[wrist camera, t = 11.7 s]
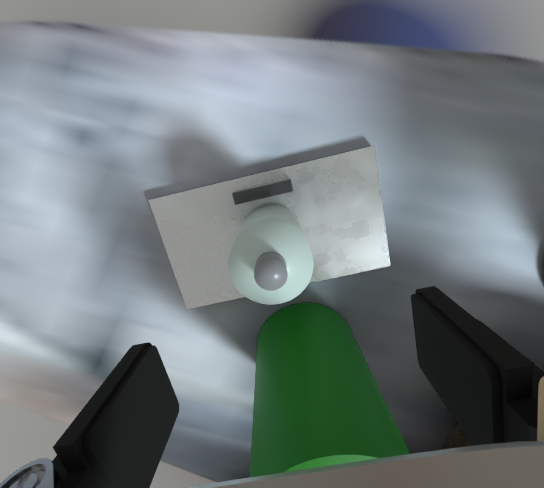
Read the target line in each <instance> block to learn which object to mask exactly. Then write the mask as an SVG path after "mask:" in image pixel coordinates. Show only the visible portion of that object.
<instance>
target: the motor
mask: <svg viewBox="0 0 544 488" xmlns="http://www.w3.org/2000/svg"><path fill="white" fill-rule="evenodd" d="M406 454H410V453H409V450H408V448H407V446H406V444H405V442H404V440H403V438H402V436H401V434H400V432H399V430H398V428H397V425H396V423H395V421H394V419H393V417H392V415H391V413H390V411H389V409H388V407H387V405H386V402H385V400H384V398H383V396H382V394H381V392H380V390H379V388H378V386H377V384H376V382H375V379H374V377H373V375H372V373H371V371H370V369H369V367H368V365H367V363H366V361H365V359H364V356H363V354H362V352H361V350H360V348H359V346H358V344H357V342H356V340H355V338H354V336H353V333H352V331H351V329H350V327H349V325H348V323H347V322H346V320H345V319H344V318H343V317H342V316H341V315H340V314H339V313H337V312H336V311H335V310H333V309H331V308H329V307H327V306H324V305H321V304H316V303H298V304H293V305H290V306H287V307H285V308H282V309H280V310H279V311H277V312H276V313H274V314H273V315H272V316H271V317H270V318H269V319H268V320H267V321H266V322H265V323H264V325H263V326H262V328H261V330H260V333H259V336H258V340H257V355H256V374H255V392H254V410H253V428H252V446H251V464H250V477H257V476H263V475H270V474H277V473H283V472H290V471H296V470H303V469H310V468H316V467H323V466H330V465H337V464H344V463H351V462H357V461H364V460H371V459H378V458H385V457H392V456H399V455H406Z"/></svg>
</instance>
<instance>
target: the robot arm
mask: <svg viewBox="0 0 544 488" xmlns="http://www.w3.org/2000/svg"><path fill="white" fill-rule="evenodd" d="M411 302H412V311H413V320H414V329H415V338H416V347H417V356H418V362H419V365H420V368H421V370H422V371H423V373H424V374H425V376H426V377H427V379H428V380H429V382H430V383H431V385H432V386H433V388H434V389H435V391H436V392H437V393H438V395H439V396H440V398H441V399H442V401H443V402H444V404H445V405H446V407H447V408H448V410H449V411H450V413H451V414H452V416H453V417H454V418H455V420H456V421H457V423H458V424H459V426H460V427H461V429H462V430H463V432H464V433H465V435H466V436H467V438H468V439H469V441H470V442H471V443H472V445H473V446H467V447H459V448H451V449H443V450H436V451H428V452H420V453H412V454H406V455H399V456H392V457H385V458H378V459H371V460H364V461H357V462H351V463H344V464H337V465H330V466H323V467H316V468H310V469H303V470H296V471H290V472H283V473H277V474H270V475H263V476H257V477H250V478H244V479H237V480H231V481H224V482H218V483H211V484H205V485H198V486H192V487H186V488H544V372H543V371H542V370H541V369H539V368H538V367H537V366H536V365H534V364H533V363H532V362H531V361H529V360H528V359H527V358H526V357H524V356H523V355H522V354H521V353H519V352H518V351H517V350H516V349H514V348H513V347H512V346H511V345H509V344H508V343H507V342H506V341H504V340H503V339H502V338H501V337H500V336H498V335H497V334H496V333H495V332H493V331H492V330H491V329H490V328H488V327H487V326H486V325H485V324H483V323H482V322H481V321H479V320H477V319H475V318H474V317H472V316H471V315H470V314H469V313H467V312H466V311H465V310H464V309H463V308H461V307H460V306H459V305H458V304H456V303H455V302H454V301H453V300H451V299H450V298H449V297H448V296H446V295H445V294H444V293H443V292H442V291H440V290H439V289H438V288H437V287H435V286H431V287H426V288H421V289H417V290H416V294H413V295H411ZM178 413H179V403H178V400H177V397H176V395H175V392H174V390H173V387H172V385H171V382H170V380H169V377H168V375H167V372H166V370H165V367H164V365H163V362H162V360H161V357H160V355H159V352H158V350H157V348H156V346H154V345H153V346H152V345H151V344H150V343H143V344H138V345H134V346H132V347H131V348H130V349H129V350H128V352H127V353H126V354H125V355H124V357H123V358H122V359H121V361H120V362H119V363H118V364H117V366H116V367H115V368H114V370H113V371H112V372H111V373H110V375H109V376H108V377H107V379H106V380H105V381H104V382H103V384H102V385H101V386H100V388H99V389H98V390H97V391H96V393H95V394H94V395H93V396H92V398H91V399H90V400H89V402H88V403H87V404H86V405H85V407H84V408H83V409H82V411H81V412H80V413H79V414H78V416H77V417H76V418H75V420H74V421H73V422H72V423H71V425H70V426H69V427H68V429H67V430H66V431H65V433H64V434H63V435H62V436H61V438H60V439H59V440H58V441H57V443H56V444H55V445H54V447H53V448H54V450H55V452H56V454H57V456H56V457H55V458H54V460H53V461H51V460H50V459H48V458H41V459H37V460H34V461H31V462H30V463H28V464H26V465H24V466H22V467H20V468H19V469H18V470H16V471H15V472H13V473H12V474H11V475H9V476H8V477H7V478H6V479H5V480H4V481H3V482H1V483H0V488H149V487H150V484H151V482H152V479H153V477H154V474H155V472H156V469H157V467H158V464H159V462H160V459H161V456H162V454H163V451H164V449H165V446H166V444H167V441H168V439H169V436H170V433H171V431H172V428H173V426H174V423H175V421H176V418H177V416H178Z"/></svg>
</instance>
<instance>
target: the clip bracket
mask: <svg viewBox="0 0 544 488" xmlns="http://www.w3.org/2000/svg"><path fill="white" fill-rule="evenodd" d="M148 201H149V204H150V207H151V210H152V212H153V215H154V218H155V221H156V224H157V227H158V229H159V232H160V235H161V238H162V241H163V244H164V246H165V249H166V252H167V255H168V258H169V260H170V263H171V266H172V269H173V272H174V275H175V277H176V280H177V283H178V286H179V289H180V292H181V294H182V297H183V300H184V303H185V306H186V309H192V308H196V307H201V306H206V305H210V304H215V303H220V302H224V301H229V300H234V299H238V298H243V297H245V296H244V295H243V294H241V293H240V292H239V291H238V290H237V288H236V287H235V286H234V284H233V282H232V280H231V277H230V274H229V269H228V259H229V255H230V252H231V249H232V247H233V244H234V242H235V240H236V238H237V235H238V233H239V231H240V228H241V226H242V224H243V222H244V220H245V218H246V217H247V215H248V214H249V213H250V212H252V211H253V210H254V209H256V208H258V207H260V206H263V205H279V206H282V207H284V208H286V209H288V210H289V211H291V212H292V213H293V214H294V215H295V217H296V218H297V220H298V222H299V224H300V226H301V229H302V231H303V233H304V236H305V238H306V240H307V243H308V245H309V247H310V250H311V252H312V256H313V262H314V268H313V273H312V277H311V279H310V282H309V283H313V282H318V281H323V280H327V279H332V278H337V277H341V276H346V275H351V274H355V273H360V272H365V271H369V270H374V269H379V268H383V267H388V266H390V258H389V250H388V242H387V234H386V226H385V218H384V210H383V203H382V195H381V187H380V179H379V171H378V163H377V155H376V147H375V146H369V147H365V148H361V149H356V150H352V151H348V152H344V153H340V154H336V155H332V156H327V157H323V158H319V159H315V160H311V161H307V162H303V163H298V164H294V165H290V166H286V167H282V168H278V169H274V170H269V171H265V172H261V173H257V174H253V175H249V176H245V177H240V178H236V179H232V180H228V181H224V182H220V183H216V184H211V185H207V186H203V187H199V188H195V189H191V190H187V191H182V192H178V193H174V194H170V195H166V196H162V197H158V198H154V199H150V200H148Z"/></svg>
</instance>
